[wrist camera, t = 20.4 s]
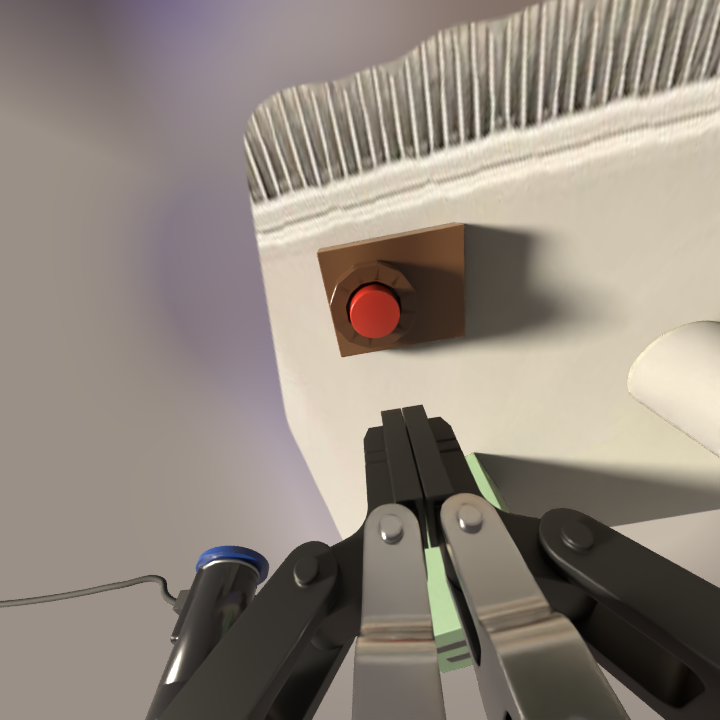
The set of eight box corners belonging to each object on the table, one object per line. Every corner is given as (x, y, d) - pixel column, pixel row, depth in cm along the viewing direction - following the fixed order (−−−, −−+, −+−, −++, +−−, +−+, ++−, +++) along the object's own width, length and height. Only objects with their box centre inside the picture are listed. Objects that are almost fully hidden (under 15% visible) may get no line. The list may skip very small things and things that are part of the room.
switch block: (341, 346, 28) (341, 367, 24) (319, 248, 24) (313, 257, 20) (456, 326, 27) (472, 344, 24) (454, 222, 23) (474, 225, 20)
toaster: (414, 525, 42) (444, 674, 29) (382, 494, 39) (400, 648, 25) (499, 490, 39) (576, 638, 26) (473, 452, 35) (548, 602, 22)
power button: (354, 333, 23) (355, 342, 22) (346, 289, 22) (345, 296, 20) (399, 325, 23) (402, 334, 22) (393, 280, 21) (397, 286, 20)
